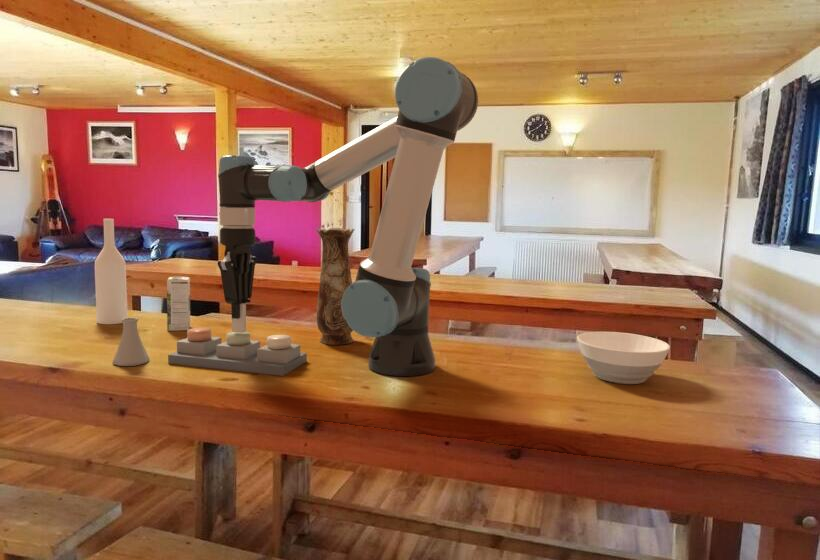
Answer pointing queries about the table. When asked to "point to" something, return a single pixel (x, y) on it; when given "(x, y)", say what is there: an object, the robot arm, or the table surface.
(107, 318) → the bottle
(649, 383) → the table surface
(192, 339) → the button terracotta
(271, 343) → the button cream
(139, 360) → the flask
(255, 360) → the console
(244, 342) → the button sage
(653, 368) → the bowl
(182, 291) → the syrup box
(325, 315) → the vase
